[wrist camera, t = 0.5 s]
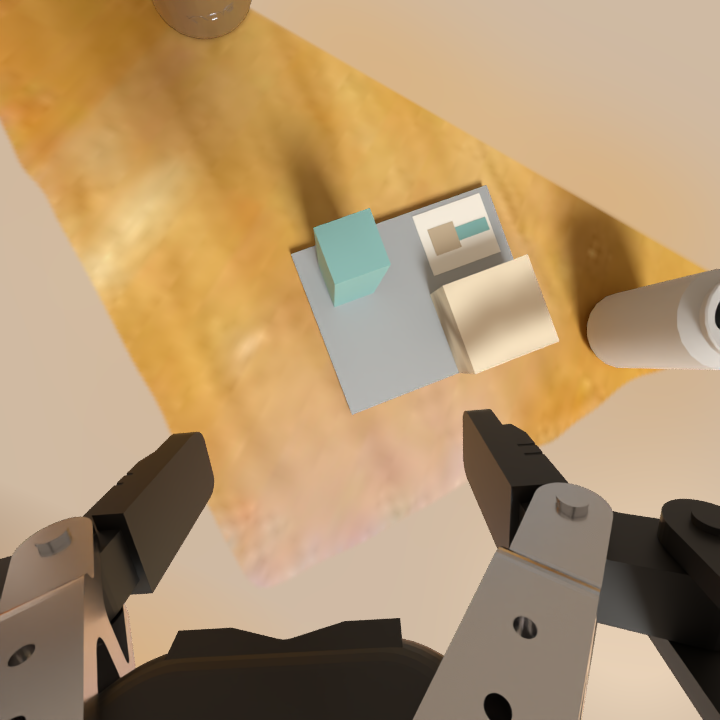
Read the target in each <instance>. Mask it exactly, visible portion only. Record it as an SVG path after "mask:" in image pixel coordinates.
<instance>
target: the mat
mask: <svg viewBox="0 0 720 720" xmlns="http://www.w3.org/2000/svg"><path fill="white" fill-rule="evenodd" d="M376 226H377V229H378V231H379V234H380V237H381V239H382V242H383V245H384V247H385V250H386V253H387V255H388V258H389V261H390V263H391V265H390V267H389V268H388V270H387V272H386V273H385V275H384V277H383V278H382V280H381V282H380V283H379V285H378V287H377V288H376V290H375V292H374V293H372V294H369V295H366V296H364V297H361V298H358V299H355V300H353V301H350V302H347V303H345V304H342V305H339V306H336V307H334V306H333V303H332V300H331V298H330V295H329V292H328V290H327V287H326V285H325V282H324V279H323V277H322V274H321V271H320V269H319V264H318V257H317V250H316V245H315V246H313V247H310V248H307V249H304V250H301V251H298V252H296V253H293V254H291V256H292V258H293V261H294V263H295V266H296V269H297V271H298V274H299V277H300V279H301V282H302V284H303V287H304V290H305V292H306V295H307V298H308V300H309V303H310V305H311V308H312V311H313V313H314V316H315V319H316V321H317V324H318V326H319V329H320V332H321V334H322V337H323V340H324V342H325V345H326V347H327V350H328V353H329V355H330V358H331V361H332V363H333V366H334V368H335V371H336V374H337V376H338V379H339V382H340V384H341V387H342V389H343V392H344V395H345V397H346V400H347V403H348V405H349V408H350V410H351V413H352V415H353V414H355V413H358V412H360V411H363V410H365V409H368V408H370V407H373V406H376V405H378V404H381V403H383V402H386V401H388V400H391V399H393V398H396V397H399V396H401V395H404V394H406V393H409V392H411V391H414V390H416V389H419V388H422V387H424V386H427V385H429V384H432V383H434V382H437V381H439V380H442V379H444V378H447V377H450V376H452V375H455V374H457V373H459V371H458V368H457V366H456V363H455V360H454V358H453V355H452V352H451V350H450V347H449V344H448V342H447V339H446V336H445V334H444V331H443V328H442V326H441V323H440V320H439V318H438V315H437V312H436V309H435V307H434V304H433V301H432V299H431V296H430V294H431V293H433V292H434V291H436V290H437V289H439V288H440V287H442V286H443V285H446V284H449V283H451V282H454V281H457V280H460V279H462V278H465V277H468V276H470V275H473V274H476V273H478V272H481V271H484V270H486V269H489V268H492V267H495V266H497V265H500V264H503V263H505V262H508V261H511V260H513V256H512V254H511V251H510V248H509V246H508V243H507V240H506V237H505V235H504V232H503V229H502V226H501V224H500V221H499V218H498V215H497V213H496V210H495V207H494V205H493V202H492V199H491V196H490V194H489V191H488V188H487V185H485V186H483V187H480V188H477V189H474V190H471V191H468V192H466V193H463V194H460V195H457V196H454V197H451V198H449V199H446V200H443V201H440V202H437V203H434V204H432V205H429V206H426V207H423V208H420V209H417V210H415V211H412V212H409V213H406V214H403V215H400V216H398V217H395V218H392V219H389V220H386V221H383V222H381V223H378V224H376Z"/></svg>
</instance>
